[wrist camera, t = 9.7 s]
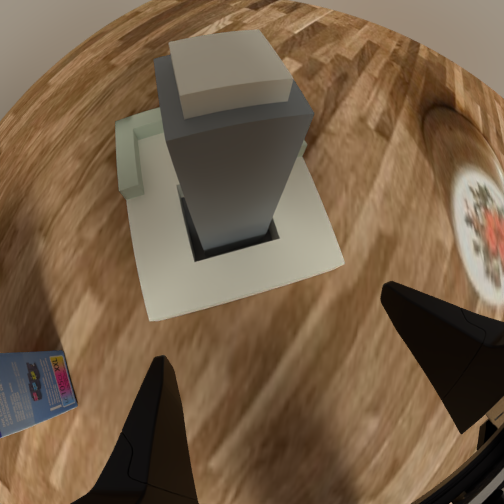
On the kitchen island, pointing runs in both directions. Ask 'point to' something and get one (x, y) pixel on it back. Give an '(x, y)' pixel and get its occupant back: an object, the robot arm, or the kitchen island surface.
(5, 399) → the ink cartridge box
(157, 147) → the socket box
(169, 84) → the plug
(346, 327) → the kitchen island surface
